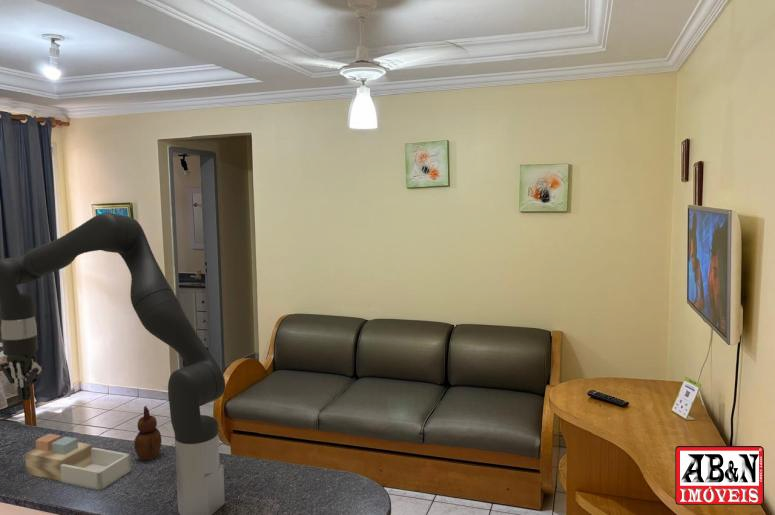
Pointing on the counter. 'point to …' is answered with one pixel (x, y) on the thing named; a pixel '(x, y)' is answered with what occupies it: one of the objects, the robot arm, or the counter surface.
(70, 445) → the slate tile
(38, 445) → the terracotta tile
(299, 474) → the counter surface
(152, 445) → the wooden figurine
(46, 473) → the wooden block
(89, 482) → the tray
